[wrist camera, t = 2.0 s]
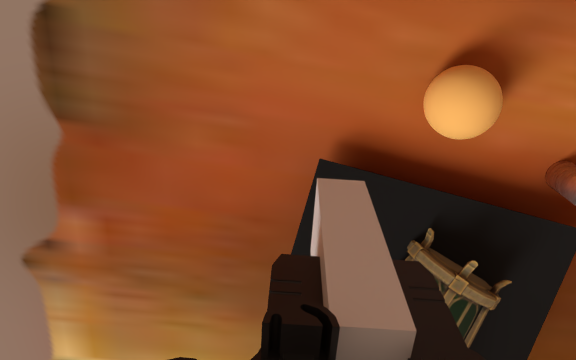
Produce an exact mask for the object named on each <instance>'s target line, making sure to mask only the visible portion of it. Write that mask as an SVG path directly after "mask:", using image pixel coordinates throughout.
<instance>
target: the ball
mask: <svg viewBox="0 0 576 360" xmlns="http://www.w3.org/2000/svg"><path fill="white" fill-rule="evenodd" d="M502 104H503V95H502V90H501V87H500V85H499V83H498V81H497V80H496V79H495V77H494V76H493V75H492V74H491V73H489V72H488V71H486V70H485V69H483V68H480V67H477V66H473V65H459V66H454V67H451V68H449V69H447V70H445V71H443V72H441V73H440V74H439V75H438V76H436V77H435V78H434V79H433V81H432V82H431V83H430V85H429V86H428V88H427V91H426V93H425V97H424V113H425V116H426V119H427V121H428V122H429V124H430V125H431V127H432V128H433V129H434V130H436V131H437V132H438V133H440V134H441V135H443V136H446V137H448V138H452V139H469V138H473V137H476V136H478V135H480V134H482V133H484V132H485V131H487V130H488V129H489V128H490V127H491V126H492V125H493V124H494V123H495V121H496V120H497V118H498V117H499V114H500V112H501V109H502Z"/></svg>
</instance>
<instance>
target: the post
mask: <svg viewBox="0 0 576 360" xmlns="http://www.w3.org/2000/svg"><path fill="white" fill-rule="evenodd" d="M545 180H546V183H547V184H548V185H549V186H550V187H552V188H553V189H554V190H556V191H557V192H558V193H559V194H561V195H562V196H563V197H565V198H566V199H567V200H569V201H570V202H571V203H573V204H574V205H575V206H576V165H575V164H573V163H572V162H570V161H559V162H557V163H555V164H553V165H552V166H551V167H550V168H549V169H548V170H547V172H546V176H545Z"/></svg>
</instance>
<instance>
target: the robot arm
mask: <svg viewBox="0 0 576 360" xmlns="http://www.w3.org/2000/svg"><path fill="white" fill-rule="evenodd" d="M169 360H197V359H194V358H183V357H179V358H174V359H169ZM251 360H486V359H485V358H483V357H482V356H481V355H480V354H478V353H477V352H475V351H473V350H471V349H469V348H468V347H467V345H466V343H465V341H464V339H463V337H462V335H461V333H460V331H459V328H458V326H457V324H456V322H455V320H454V318H453V316H452V314H451V312H450V310H449V307H448V305H447V303H445V299H444V297H443V295H442V293H441V291H439V286H438V284H437V282H436V280H435V278H434V276H433V274H432V273H431V272H430V271H429V270H428V269H427V268H425V267H424V266H423V265H422V264H421V263H420V262H419V261H406V260H392V259H391V256H390V253H389V250H388V247H387V244H386V242H385V239H384V236H383V233H382V230H381V227H380V224H379V221H378V218H377V216H376V213H375V210H374V207H373V204H372V201H371V198H370V195H369V193H368V190H367V187H366V184H365V181H356V180H340V179H324V178H317V185H316V196H315V207H314V218H313V229H312V240H311V256H304V255H288V254H281V255H280V256H279V258H278V259H277V260H276V261H275V262H274V264H273V265H272V271H271V281H270V290H269V299H268V309H267V312H266V314H265V317H264V319H263V322H262V340H261V349H260V350H259V352H258V353H257V354H256V355H255V356H254V357H253V358H252V359H251Z"/></svg>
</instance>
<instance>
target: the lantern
mask: <svg viewBox="0 0 576 360" xmlns="http://www.w3.org/2000/svg"><path fill="white" fill-rule="evenodd" d="M317 178H324V179H340V180H356V181H365V184H366V187H367V190H368V193H369V195H370V198H371V201H372V204H373V207H374V210H375V213H376V216H377V218H378V221H379V224H380V227H381V230H382V233H383V236H384V239H385V242H386V244H387V247H388V250H389V253H390V256H391V259H392V260H406V261H419V262H420V263H421V264H422V265H423V266H424V267H425V268H427V269H428V270H429V271H430V272H431V273H432V274H433V276H434V278H435V280H436V282H437V284H438V286H439V291H441V293H442V295H443V297H444V299H445V303H447V305H448V307H449V310H450V312H451V314H452V316H453V318H454V320H455V322H456V324H457V326H458V328H459V331H460V333H461V335H462V337H463V339H464V341H465V343H466V345H467V347H468V348H469V349H471V350H473V351H475V352H477V353H478V354H480V355H481V356H482V357H483V358H485V359H486V360H527V358H528V356H529V354H530V352H531V350H532V347H533V345H534V343H535V341H536V338H537V336H538V334H539V332H540V330H541V327H542V325H543V323H544V321H545V318H546V316H547V314H548V312H549V310H550V307H551V305H552V303H553V301H554V298H555V296H556V294H557V292H558V290H559V287H560V285H561V283H562V281H563V278H564V276H565V274H566V272H567V270H568V267H569V265H570V263H571V261H572V258H573V256H574V254H575V252H576V228H575V227H571V226H568V225H564V224H560V223H557V222H553V221H549V220H545V219H542V218H538V217H534V216H531V215H527V214H523V213H520V212H516V211H512V210H508V209H505V208H501V207H497V206H494V205H490V204H486V203H483V202H479V201H475V200H471V199H468V198H464V197H460V196H457V195H453V194H449V193H446V192H442V191H438V190H434V189H431V188H427V187H423V186H420V185H416V184H412V183H408V182H405V181H401V180H397V179H394V178H390V177H386V176H383V175H379V174H375V173H371V172H368V171H364V170H360V169H357V168H353V167H349V166H346V165H342V164H338V163H334V162H331V161H327V160H323V159H319V163H318V166H317V169H316V173H315V176H314V179H313V183H312V186H311V189H310V193H309V196H308V199H307V203H306V206H305V209H304V213H303V216H302V220H301V223H300V226H299V230H298V233H297V236H296V240H295V243H294V246H293V250H292V253H291V255H304V256H311V240H312V229H313V218H314V207H315V196H316V185H317Z"/></svg>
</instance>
